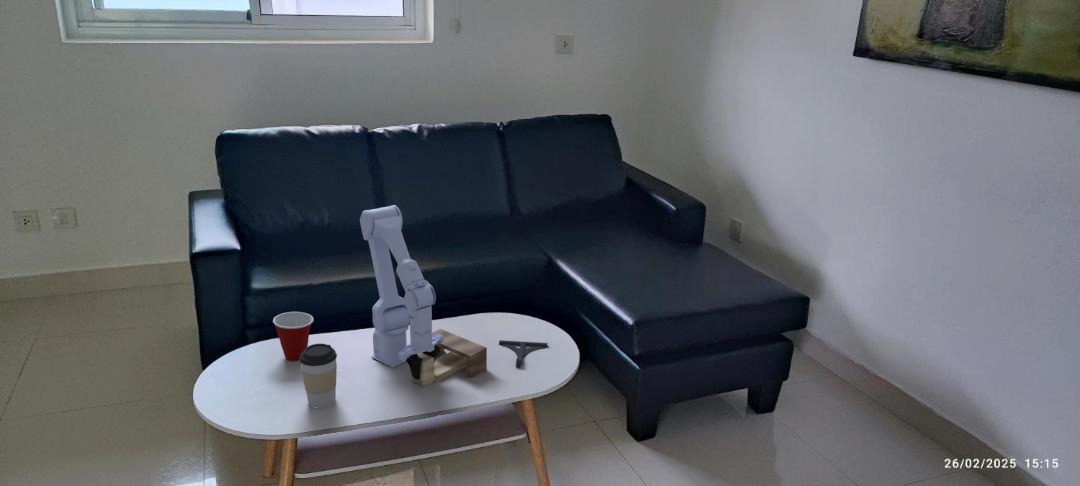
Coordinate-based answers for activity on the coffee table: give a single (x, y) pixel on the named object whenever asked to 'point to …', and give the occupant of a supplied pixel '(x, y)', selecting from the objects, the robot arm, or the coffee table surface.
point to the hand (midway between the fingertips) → (422, 374)
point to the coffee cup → (319, 374)
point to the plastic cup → (293, 333)
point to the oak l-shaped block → (438, 367)
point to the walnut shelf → (464, 351)
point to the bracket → (522, 348)
